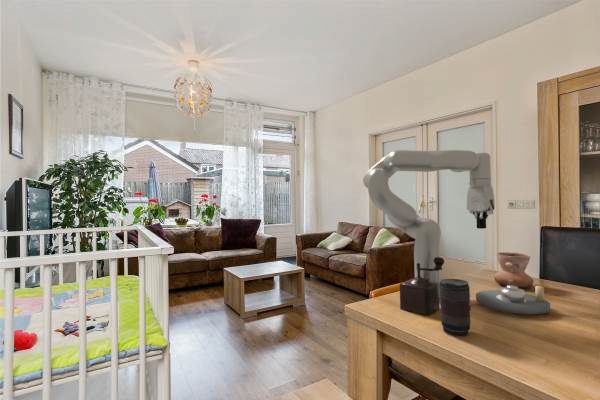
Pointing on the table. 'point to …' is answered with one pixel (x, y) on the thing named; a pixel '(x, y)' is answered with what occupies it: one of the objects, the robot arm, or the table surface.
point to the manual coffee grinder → (421, 292)
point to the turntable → (528, 307)
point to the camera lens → (455, 306)
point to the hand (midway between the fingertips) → (481, 228)
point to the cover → (512, 294)
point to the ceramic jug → (513, 270)
